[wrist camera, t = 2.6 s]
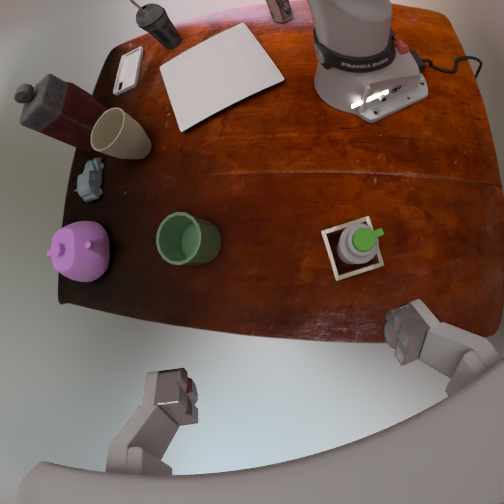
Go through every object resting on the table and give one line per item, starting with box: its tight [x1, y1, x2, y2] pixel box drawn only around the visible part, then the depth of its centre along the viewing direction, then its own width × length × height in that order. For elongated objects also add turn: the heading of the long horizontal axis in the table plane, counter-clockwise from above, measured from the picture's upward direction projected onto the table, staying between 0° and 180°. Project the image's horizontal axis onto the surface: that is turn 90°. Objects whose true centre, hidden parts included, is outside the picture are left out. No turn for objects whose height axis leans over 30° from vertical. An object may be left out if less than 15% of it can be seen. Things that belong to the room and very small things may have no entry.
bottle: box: [337, 223, 384, 264], centre depth 33 cm, size 4×4×20 cm
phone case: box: [113, 47, 144, 96], centre depth 58 cm, size 7×1×15 cm
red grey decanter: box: [14, 74, 109, 152], centre depth 46 cm, size 9×11×28 cm
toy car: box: [74, 158, 104, 202], centre depth 57 cm, size 6×10×5 cm, turn 6°
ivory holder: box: [321, 216, 384, 281], centre depth 40 cm, size 7×7×6 cm
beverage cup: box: [130, 0, 182, 49], centre depth 46 cm, size 7×7×20 cm
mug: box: [91, 108, 152, 159], centre depth 50 cm, size 11×10×12 cm
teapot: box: [47, 221, 110, 282], centre depth 52 cm, size 20×13×12 cm, turn 95°
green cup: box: [156, 212, 221, 265], centre depth 46 cm, size 8×8×8 cm
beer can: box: [266, 0, 293, 22], centre depth 42 cm, size 5×5×12 cm
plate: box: [160, 23, 284, 132], centre depth 50 cm, size 22×22×2 cm
